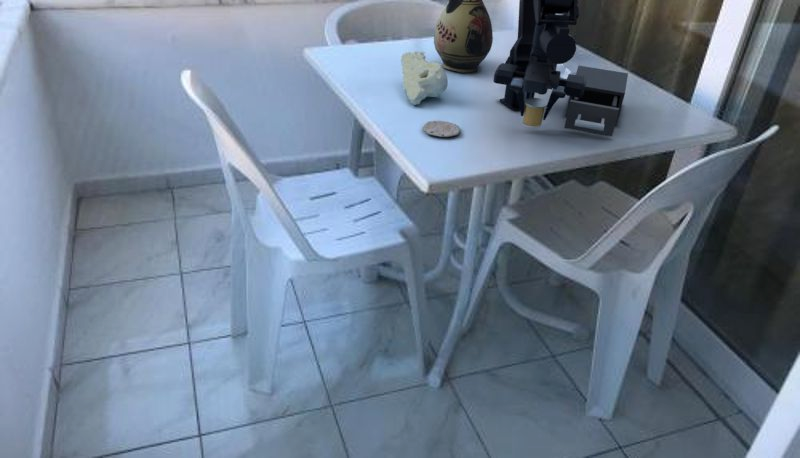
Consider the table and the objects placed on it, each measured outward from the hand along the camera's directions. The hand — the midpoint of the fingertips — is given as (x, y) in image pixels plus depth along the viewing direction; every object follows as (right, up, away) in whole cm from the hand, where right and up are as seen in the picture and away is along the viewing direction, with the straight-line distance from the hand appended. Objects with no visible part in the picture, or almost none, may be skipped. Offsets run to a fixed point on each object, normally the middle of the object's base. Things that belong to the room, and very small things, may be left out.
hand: (533, 117), depth 140 cm
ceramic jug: (-14, +19, +34) cm, 41 cm away
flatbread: (-20, -3, -1) cm, 20 cm away
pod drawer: (+13, -1, +4) cm, 14 cm away
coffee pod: (0, -1, +1) cm, 1 cm away
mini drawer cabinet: (+17, +4, +13) cm, 22 cm away
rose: (+11, +16, +31) cm, 37 cm away
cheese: (-25, +9, +17) cm, 32 cm away
